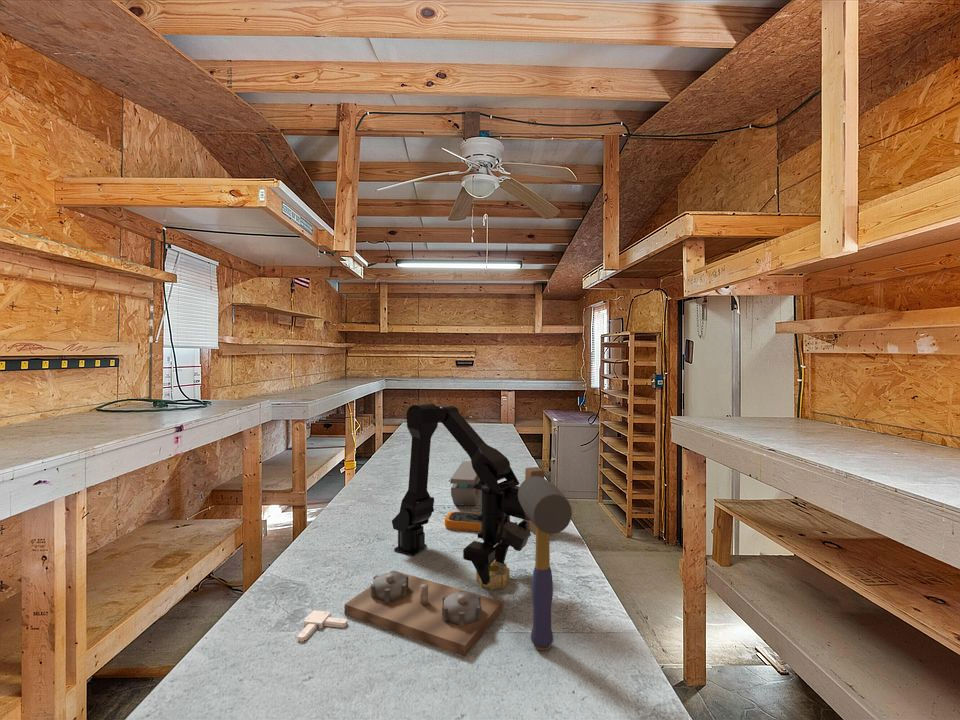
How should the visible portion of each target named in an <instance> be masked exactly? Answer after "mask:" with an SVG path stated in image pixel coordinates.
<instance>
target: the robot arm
mask: <svg viewBox="0 0 960 720" xmlns="http://www.w3.org/2000/svg"><path fill="white" fill-rule="evenodd" d="M438 423H441V424H442V425H443V426H444V427H445V429H446V430H447V431H448V432H449V433H450V435H451V436H452V437H453V438H454V439H455V441H456V442H457V443H458V444H459V445H460V447H461V448H462V449H463V451H465V453H466V454H467V455H468V457H469V458H470V461H471V463H472V468H473V469H474V471H475V473H476V474H477V476H478V478H479V479H480V480H479V482H478V483H477V484H476V485H474V489H478V490H481V496H480V499H481V500H480V507H481V508H480V513H481V514H480V515H478V520H480V521H481V531H480V532H479V531H478V532H477V538H478V539H482V541H483V542H482V541H476V540H473V541H472V542H470V543H469V544H468V545H466V546H465V547H464V548H463V550H462V559H463V560H464V561H468V562H471V563H472V565H473V566H474V568H475V571H476V570H477V572H478V574H479V577H480V579H481V581H482V583H483V584H484V585H487V584H488V581H489V574H490V566H491V563H492V562H493V561H496V562H500V563H505V562H506V558H507V554H508V550H509V548H510V547H511V548H513V550H514V551H517V552H521V550H522V549H523V548H524V547H526V545H527V544H528V541H529V538H530V537H531V535H532V534H531V533H532V532H531V530H530V527H529V522H528V521H531V520H530V519H529V518H528V517H527V516H526V514H525V512H524V510H523V508H522V506H521V504H520V502H519V500H518V489H519V487H520V482H519V480H518V478H517V476H516V474H515V473H514V470H513V469H512V467H511V463H510V460H509V459H508V458H507V457H506V456H505V455H504V454H503V453H502V452H500V451H499V450H498V449H497V448H494V447H493V446H491V445H488V444H487V443H486V442H485V441H484V440H483V438H482V437H481V436H480V435H479V434H478V433H477V432H476V431H475V430H474V428H473V427H472V426H471V424H469V422H468V421H467V420H466V419H465V417H464V416H462V414H461V413H460V412H459V409H458V408H457V406H455V405H452V404H451V405H440V406H439V405H436V404H435V403H433V402H426V403H418V404H417V403H416V404H413V405H411V406H409V407H408V408H407V409H406V428H407V430H408V432H409V433H410V436H411V447H410V462H409V474H408V475H409V477H408V487H407V490H406V493H405V494H404V497H402V500H401V503H400V508H399V512H398V513H397V514H396V515H395V517H394V518H393V519H391V524H392V529H393V530H395V531H397V547H394V549H393V550H394V552H397V553H403V554H405V555H409V556H415V555H417V554H418V553H420V552H421V551H422V550H425V549H426V548H427V546H428V545H427V544H426V543H425V542H426V537H425V536H426V533H425V532H424V530H425V529H424V525H427V524H429V520H430V518H431V517H432V516H433V515H432V514H433V513H434V512H435V509H434V508H435V507H434V503H435V498H434V497H433V496H431V495H430V493H429V491H428V481H429V470H430V469H429V467H430V452H431V442H432V440H431V439H432V437H433V436H434V434H435V432H436V429H437V428H438V426H439V425H438ZM504 479H505V480H504ZM502 480H503V481H502ZM498 481H501V482H498ZM511 517H514V518H518V519H521V521H520V522H519V523H518V522H517V521H515V522H514V521H512V520H511ZM526 520H527V521H526Z"/></svg>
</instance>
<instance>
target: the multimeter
mask: <svg viewBox="0 0 960 720" xmlns="http://www.w3.org/2000/svg"><path fill="white" fill-rule="evenodd" d="M480 514H481V512H470V511H469V512H468V511H450V512H448V513H447V514H446V516H445V517H444V526H445V528H446V529H447V528H448V530H450V529H455V530H454V531H465V530H468V532H479V531H481V521H480V520H478V515H480Z"/></svg>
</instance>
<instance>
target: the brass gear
mask: <svg viewBox="0 0 960 720" xmlns="http://www.w3.org/2000/svg"><path fill="white" fill-rule="evenodd" d="M475 572H476V575H475V576H476V578H475V581H476V582H477V583H478V586H479V587H481V588H486V589H489V590H493V591H495V590H496V589H504V588H506V587H507V585H508V584H510V577H511V576H510V567H508V566H507V563H505V562H504V563H500V562H496V561H495V560H494V561H493V562H492V563H491V566H490V574H489V581H488V584H487V585H484V584H483V583H482V581H481V579H480V577H479V574H478V572H477V570H476V569H475Z"/></svg>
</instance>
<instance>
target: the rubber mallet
mask: <svg viewBox="0 0 960 720" xmlns="http://www.w3.org/2000/svg"><path fill="white" fill-rule="evenodd" d="M518 500H519V502H520V504H521V506H522V508H523V510H524V512H525V514H526V516H527V517H528V518H529V519H530V520H531V521H532V522H533V523H534V524H535V525H536V535H535V555H534V557H535V558H534V559H535V566H534V569H533V573H532V582H531V599H532V608H533V609H532V610H533V611H532V613H533V614H532V629H531V633H530V639H531V641H532V644H533V647H534V649H537V650H539V651H547V650H549V649H550V647H551V645H552V643H553V641H554V633H553V630H552V629H553V628H552V605H553V597H554V586H553V585H554V584H553V583H554V582H553V573H552V569H551V566H550V556H551V555H550V551H551V549H550V546H551V545H550V543H551V542H550V538H551V537H550V536H551V535H554V534H559V533H561V532H562V531H564V530H566V528H567V527H568V526H569V524H570V523H571V520H572V516H573V512H572V506H571V504H570V502H569V500H568V498H567V497H566V496H565V495H564V494H563V492H561V490H560V489H559V488H558V487H556V485H554V483H552V482H550V481H549V480H548V479H546V478H545V477H544V478H542V477H538V476H533V477H529V478H527V479H526V480H525V479H524V480H523V481H522V482H521V484H519V489H518ZM550 534H551V535H550Z"/></svg>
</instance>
